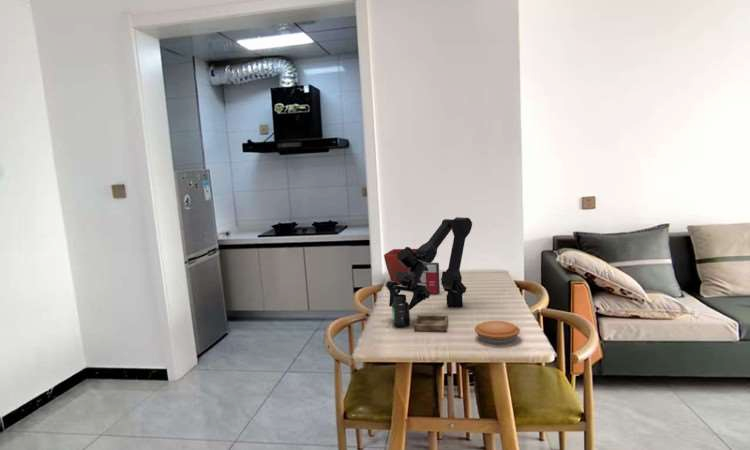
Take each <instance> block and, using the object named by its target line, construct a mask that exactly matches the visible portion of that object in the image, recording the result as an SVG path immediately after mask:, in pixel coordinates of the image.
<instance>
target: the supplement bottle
mask: <svg viewBox="0 0 750 450" xmlns="http://www.w3.org/2000/svg"><path fill="white" fill-rule="evenodd" d="M394 301H395V302H393V304H392V306H391V315H392V317H391V318H392V326H393V327H395V328H396V329H397V328H399V329H405V328H408V327H409V326H410V325H411V315H410V310H409V309H408V307H409V304H410V302H408V301H407V295H406V294H405V293H403V294H401V293H398V294H397V295H394Z"/></svg>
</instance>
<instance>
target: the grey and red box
mask: <svg viewBox="0 0 750 450" xmlns="http://www.w3.org/2000/svg"><path fill="white" fill-rule="evenodd" d="M422 263H423V264H424V265H427V268H428V271H423V273H422V276H421V278H420V280H421V283H418V285H425V286H426V287H427V289H428V290H429V291H430V295H439V294H440V293H441V288H440V263H439V262H431V263H426V262H422Z"/></svg>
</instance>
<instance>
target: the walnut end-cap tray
mask: <svg viewBox="0 0 750 450" xmlns="http://www.w3.org/2000/svg"><path fill="white" fill-rule="evenodd" d="M413 326H414V327H413V328H414V330H413V331H414V332H420V333H422V332H423V333H431V332H432V333H446V332H447V330H448V326H449V315H446V314H445V315H434V314H433V315H431V314H430V315H429V314H426V315H425V314H424V315H421V314H420V315H417V317H416V320H415V322H414V325H413Z"/></svg>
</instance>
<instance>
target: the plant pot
mask: <svg viewBox="0 0 750 450" xmlns="http://www.w3.org/2000/svg"><path fill="white" fill-rule="evenodd" d="M403 249H404V248H393V249H391V250H390V251H388V252H386V253H385V254H383V258H384V262H385V263H384V264H385V266H386V269H387V273H388V276H389V278H390V281H395V282H397V284H398V285H401V284H400V283H399V282H400V281H399V280H395V277H396V272H408V270H409V268H406V267H405V266H404V265H403V264H402V263H401V262H400V261H399V260H398V259H397V254H398V253H399V252H400V251H401V250H403ZM417 249H418V248H411V250H412V251H413V252H415V251H417Z"/></svg>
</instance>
